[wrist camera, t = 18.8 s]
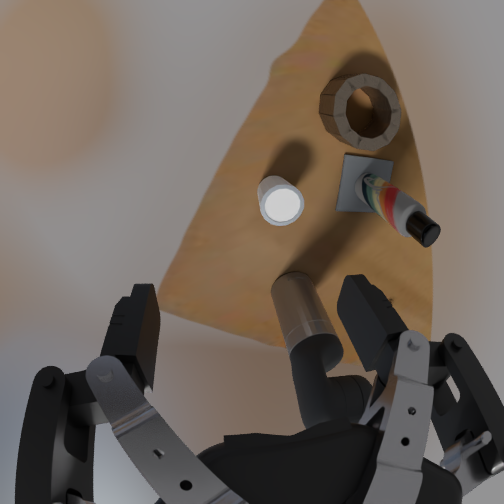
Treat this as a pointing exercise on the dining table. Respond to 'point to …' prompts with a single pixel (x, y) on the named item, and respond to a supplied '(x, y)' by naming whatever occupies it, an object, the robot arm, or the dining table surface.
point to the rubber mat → (352, 172)
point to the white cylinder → (279, 201)
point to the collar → (382, 117)
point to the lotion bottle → (397, 209)
